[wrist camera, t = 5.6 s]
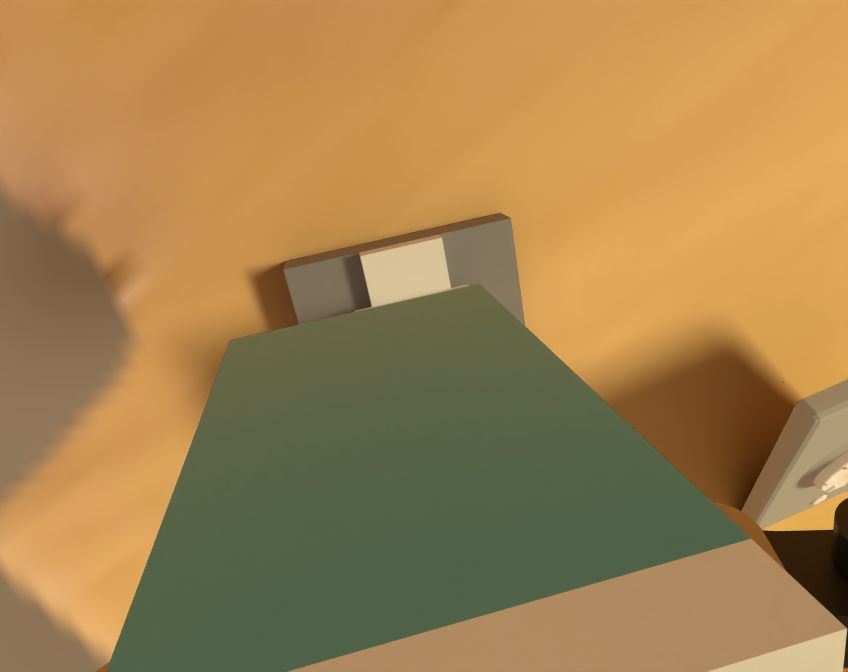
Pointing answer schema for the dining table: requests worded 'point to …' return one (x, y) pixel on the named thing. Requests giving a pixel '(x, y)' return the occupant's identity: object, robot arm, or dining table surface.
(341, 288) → the rail board
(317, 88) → the dining table surface
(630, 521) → the block
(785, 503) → the light switch
